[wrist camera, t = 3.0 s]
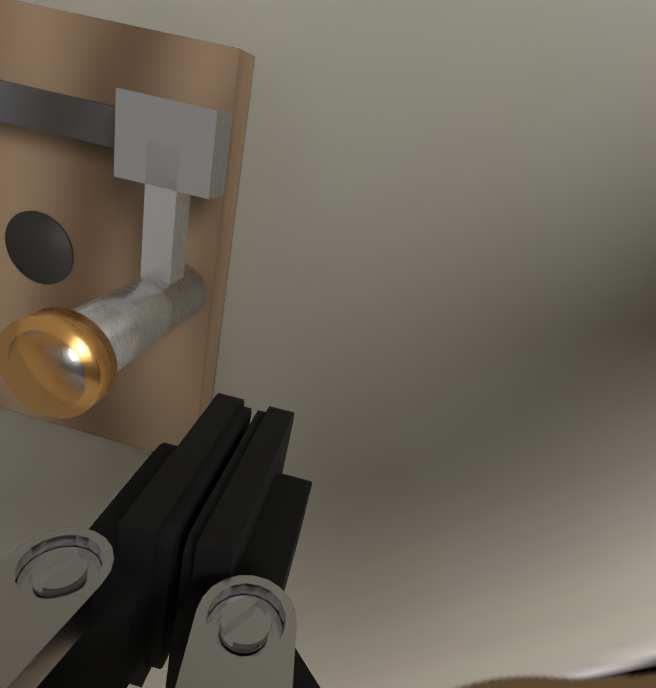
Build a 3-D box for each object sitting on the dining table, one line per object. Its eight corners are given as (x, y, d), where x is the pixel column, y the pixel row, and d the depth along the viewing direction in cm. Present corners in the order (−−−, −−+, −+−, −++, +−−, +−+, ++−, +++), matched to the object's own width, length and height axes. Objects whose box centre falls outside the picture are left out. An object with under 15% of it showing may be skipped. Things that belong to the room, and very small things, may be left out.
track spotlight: (241, 114, 15) (111, 92, 9) (215, 332, 18) (105, 433, 12) (151, 94, 15) (-38, 58, 9) (141, 312, 18) (-8, 400, 12)
